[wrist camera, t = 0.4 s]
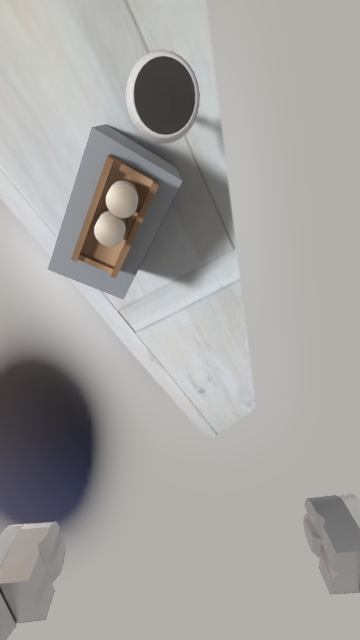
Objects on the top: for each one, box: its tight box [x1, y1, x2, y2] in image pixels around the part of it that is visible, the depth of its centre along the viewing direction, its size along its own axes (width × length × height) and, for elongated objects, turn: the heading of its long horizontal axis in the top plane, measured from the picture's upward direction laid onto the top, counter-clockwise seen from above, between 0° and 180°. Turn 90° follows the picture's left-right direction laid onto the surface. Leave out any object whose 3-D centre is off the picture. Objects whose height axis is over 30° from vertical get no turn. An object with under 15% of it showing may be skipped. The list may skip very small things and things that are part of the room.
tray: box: [71, 154, 159, 278], centre depth 37 cm, size 6×14×5 cm, turn 151°
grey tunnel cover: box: [48, 125, 182, 299], centre depth 45 cm, size 20×12×12 cm, turn 151°
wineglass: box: [126, 50, 200, 143], centre depth 33 cm, size 8×8×21 cm
